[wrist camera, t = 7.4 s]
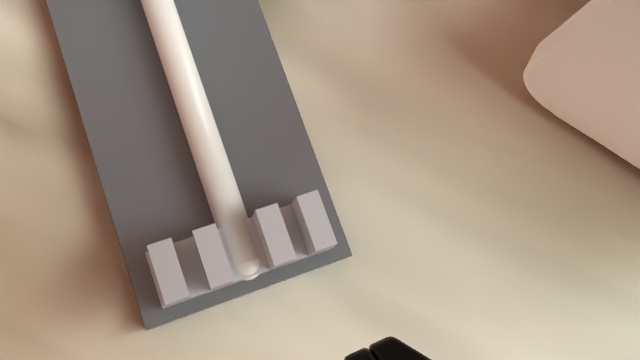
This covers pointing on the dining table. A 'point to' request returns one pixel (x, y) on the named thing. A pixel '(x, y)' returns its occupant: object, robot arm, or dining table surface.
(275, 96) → the cord comb board
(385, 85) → the dining table surface
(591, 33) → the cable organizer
